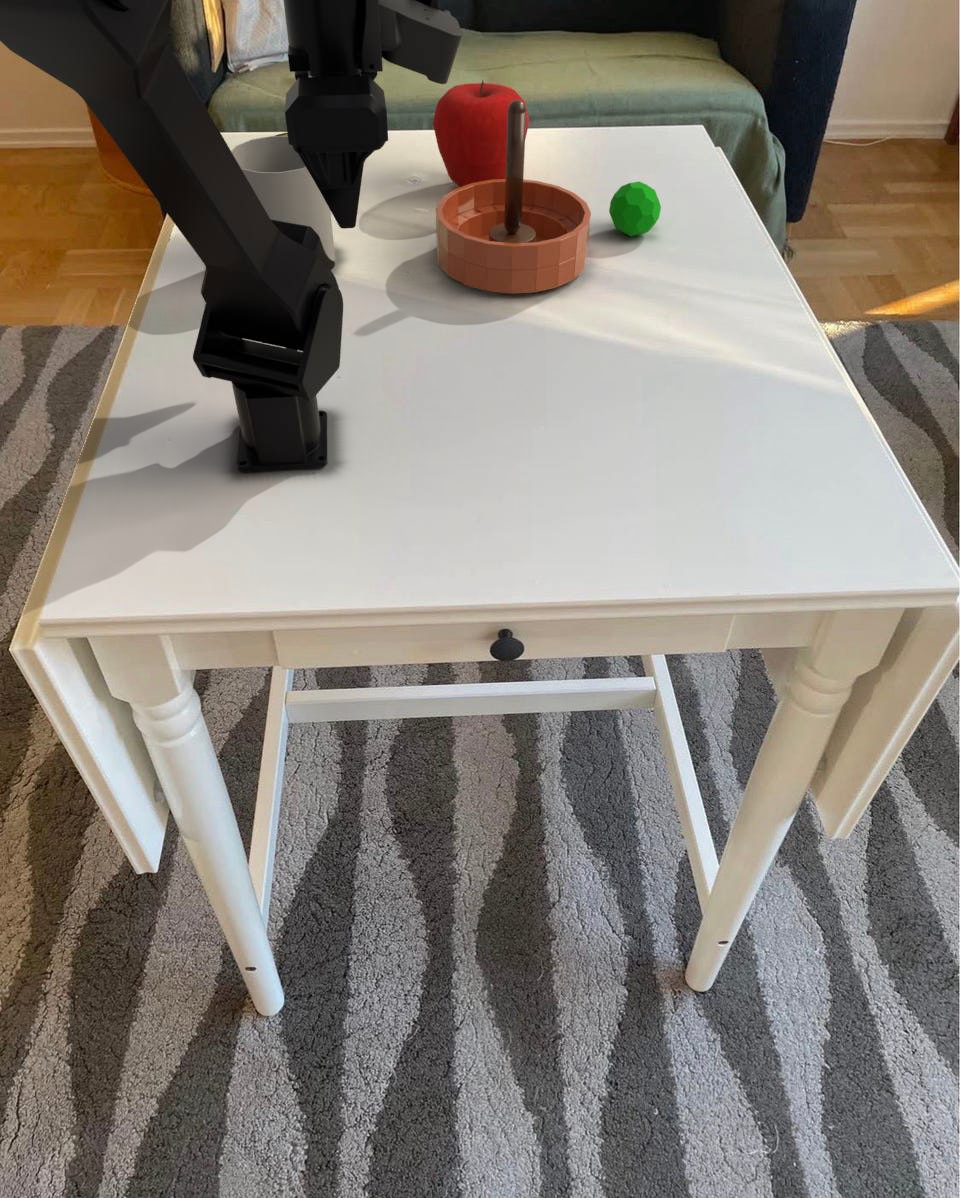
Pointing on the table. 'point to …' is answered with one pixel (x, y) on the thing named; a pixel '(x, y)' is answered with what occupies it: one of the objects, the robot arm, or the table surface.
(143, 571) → the table surface
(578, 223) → the bowl
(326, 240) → the cup
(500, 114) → the apple
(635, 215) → the polyhedron
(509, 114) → the brown joystick
